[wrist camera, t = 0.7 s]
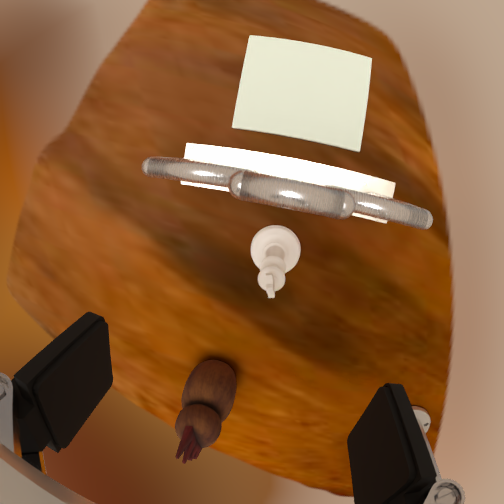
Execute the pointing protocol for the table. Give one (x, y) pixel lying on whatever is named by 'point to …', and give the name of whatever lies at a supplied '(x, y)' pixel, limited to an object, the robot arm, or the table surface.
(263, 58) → the pad
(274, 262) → the chess piece
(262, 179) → the silver metal frame stand
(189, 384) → the wooden figurine
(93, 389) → the robot arm
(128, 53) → the table surface
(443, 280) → the table surface
